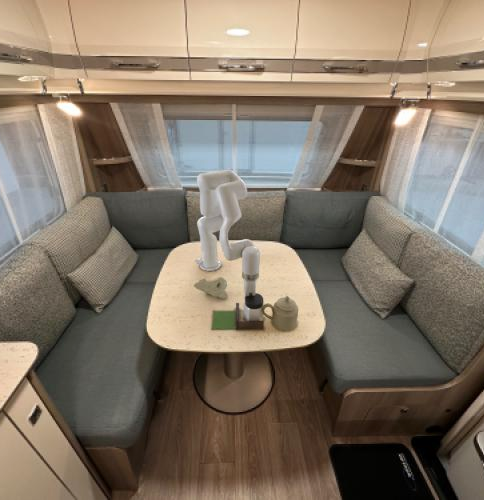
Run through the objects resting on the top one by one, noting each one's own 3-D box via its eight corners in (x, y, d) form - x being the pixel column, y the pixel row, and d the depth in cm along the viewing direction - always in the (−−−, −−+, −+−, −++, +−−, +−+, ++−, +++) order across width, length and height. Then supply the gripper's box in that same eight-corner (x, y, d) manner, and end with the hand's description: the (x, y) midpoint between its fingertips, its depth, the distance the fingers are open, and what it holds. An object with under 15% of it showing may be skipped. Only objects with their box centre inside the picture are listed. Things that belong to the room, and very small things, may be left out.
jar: (257, 328, 117) (258, 308, 111) (241, 321, 120) (240, 301, 114) (266, 315, 123) (267, 295, 117) (250, 309, 127) (250, 289, 121)
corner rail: (235, 330, 116) (235, 323, 114) (236, 309, 127) (235, 302, 125) (263, 329, 116) (263, 323, 114) (261, 309, 127) (261, 302, 125)
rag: (211, 329, 117) (211, 328, 116) (213, 311, 126) (213, 311, 126) (234, 329, 117) (234, 328, 116) (234, 311, 126) (234, 310, 126)
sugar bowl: (275, 338, 112) (277, 311, 104) (260, 321, 120) (261, 296, 113) (301, 324, 118) (306, 298, 111) (285, 310, 127) (288, 284, 119)
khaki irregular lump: (233, 294, 140) (218, 270, 142) (235, 292, 133) (218, 267, 135) (208, 310, 136) (193, 285, 139) (208, 309, 129) (192, 283, 132)
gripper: (241, 264, 124) (241, 294, 133) (242, 284, 111) (242, 316, 120) (257, 264, 124) (256, 294, 133) (260, 284, 111) (258, 316, 120)
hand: (249, 305), depth 127 cm, fingers closed
